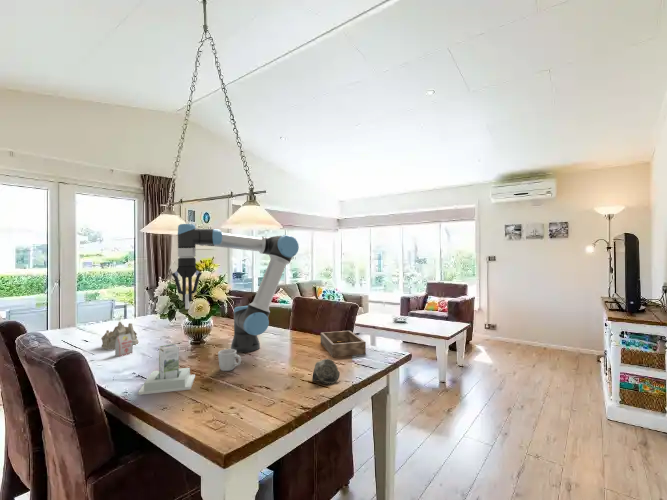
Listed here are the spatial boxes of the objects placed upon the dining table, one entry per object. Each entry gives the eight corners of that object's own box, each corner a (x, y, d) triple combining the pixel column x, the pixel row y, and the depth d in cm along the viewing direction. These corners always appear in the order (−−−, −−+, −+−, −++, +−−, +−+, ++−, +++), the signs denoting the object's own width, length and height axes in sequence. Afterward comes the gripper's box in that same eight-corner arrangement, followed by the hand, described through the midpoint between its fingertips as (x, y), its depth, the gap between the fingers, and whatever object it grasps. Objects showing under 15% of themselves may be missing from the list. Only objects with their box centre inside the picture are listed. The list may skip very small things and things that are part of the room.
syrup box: (174, 378, 142) (173, 343, 142) (179, 382, 137) (178, 345, 137) (159, 382, 138) (158, 345, 138) (163, 386, 133) (163, 348, 133)
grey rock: (142, 343, 201) (140, 317, 201) (112, 352, 187) (110, 324, 187) (127, 342, 209) (125, 317, 209) (97, 350, 194) (95, 323, 194)
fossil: (329, 386, 133) (318, 361, 135) (312, 393, 137) (302, 368, 140) (344, 377, 141) (334, 353, 144) (328, 383, 146) (319, 360, 149)
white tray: (195, 376, 146) (195, 367, 146) (190, 389, 133) (190, 378, 133) (147, 381, 142) (147, 371, 142) (138, 394, 128) (138, 384, 128)
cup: (245, 368, 157) (245, 350, 157) (235, 373, 149) (235, 355, 149) (225, 365, 160) (225, 348, 160) (214, 371, 153) (214, 353, 153)
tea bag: (115, 355, 178) (115, 336, 178) (128, 352, 184) (128, 333, 184) (119, 356, 177) (119, 336, 177) (132, 353, 183) (132, 333, 183)
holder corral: (349, 340, 202) (349, 330, 202) (365, 353, 176) (365, 341, 176) (320, 343, 197) (320, 332, 197) (332, 356, 172) (332, 344, 172)
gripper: (202, 257, 166) (203, 306, 166) (173, 257, 163) (173, 308, 163) (201, 257, 159) (201, 309, 159) (169, 257, 155) (170, 310, 155)
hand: (187, 308), depth 161 cm, fingers closed
